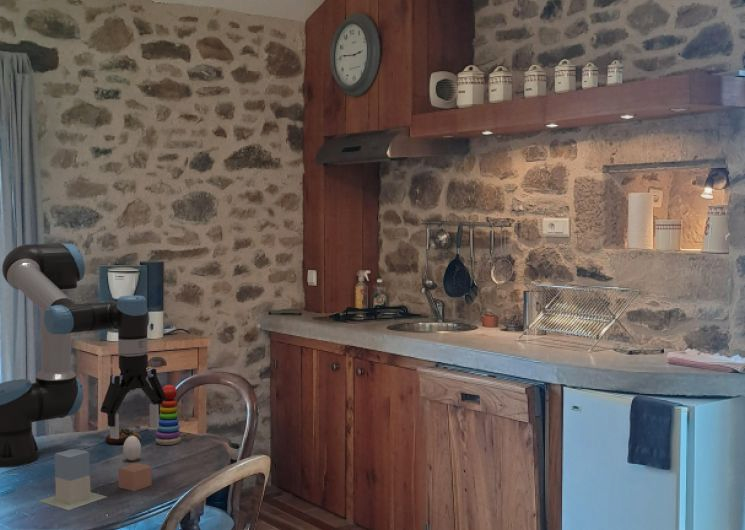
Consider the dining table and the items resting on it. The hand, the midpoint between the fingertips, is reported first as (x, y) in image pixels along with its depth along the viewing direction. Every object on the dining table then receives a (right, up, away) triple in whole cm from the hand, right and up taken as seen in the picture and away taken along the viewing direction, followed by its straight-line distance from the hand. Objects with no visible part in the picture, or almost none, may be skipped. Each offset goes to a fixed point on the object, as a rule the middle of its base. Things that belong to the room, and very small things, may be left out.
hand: (134, 433), depth 233 cm
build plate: (-13, -16, -9) cm, 23 cm away
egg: (-9, -14, +28) cm, 33 cm away
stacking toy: (-2, -13, +48) cm, 50 cm away
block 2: (-13, -15, -9) cm, 22 cm away
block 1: (-13, -9, -10) cm, 19 cm away
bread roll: (-18, -13, +50) cm, 55 cm away
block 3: (0, -15, +1) cm, 15 cm away
